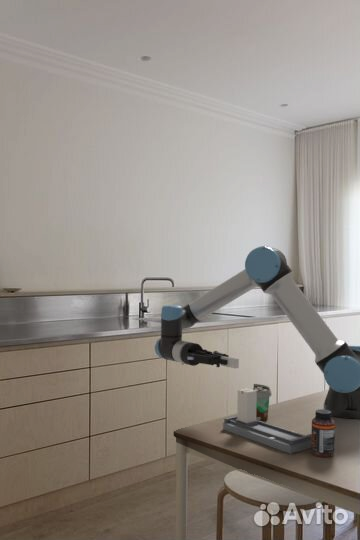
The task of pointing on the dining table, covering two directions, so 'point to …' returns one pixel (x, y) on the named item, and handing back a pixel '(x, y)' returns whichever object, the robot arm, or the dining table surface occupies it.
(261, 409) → the food container
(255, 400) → the fader tab
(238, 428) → the board
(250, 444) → the dining table surface
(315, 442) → the supplement bottle
